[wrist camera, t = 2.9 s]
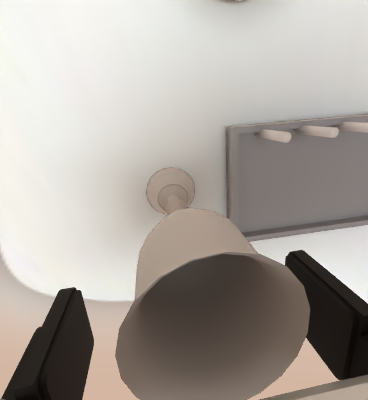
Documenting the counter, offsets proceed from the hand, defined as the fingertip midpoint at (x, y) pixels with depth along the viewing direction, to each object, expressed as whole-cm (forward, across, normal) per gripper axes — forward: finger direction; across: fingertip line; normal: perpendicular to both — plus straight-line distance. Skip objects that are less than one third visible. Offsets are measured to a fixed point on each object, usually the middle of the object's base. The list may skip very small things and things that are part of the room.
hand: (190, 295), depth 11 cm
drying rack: (+15, -16, 0) cm, 22 cm away
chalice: (+16, -1, 0) cm, 16 cm away
